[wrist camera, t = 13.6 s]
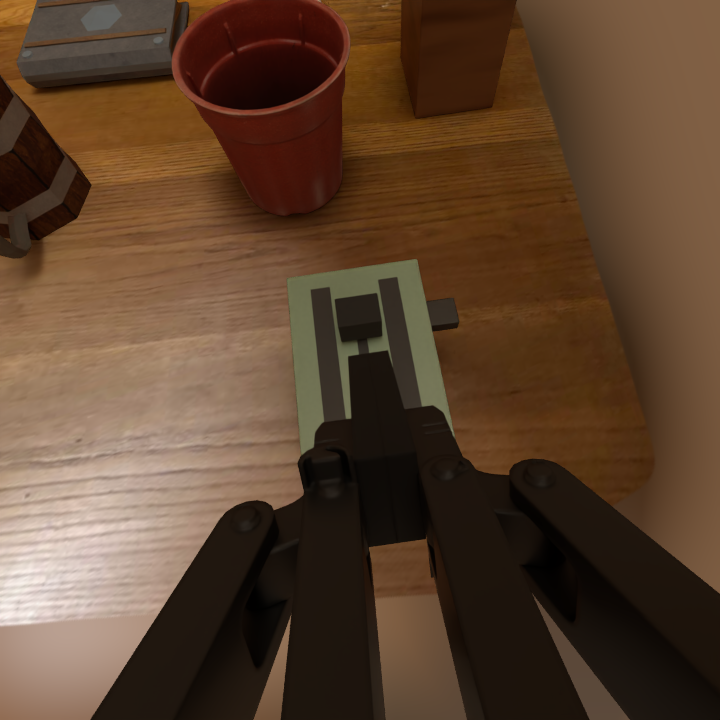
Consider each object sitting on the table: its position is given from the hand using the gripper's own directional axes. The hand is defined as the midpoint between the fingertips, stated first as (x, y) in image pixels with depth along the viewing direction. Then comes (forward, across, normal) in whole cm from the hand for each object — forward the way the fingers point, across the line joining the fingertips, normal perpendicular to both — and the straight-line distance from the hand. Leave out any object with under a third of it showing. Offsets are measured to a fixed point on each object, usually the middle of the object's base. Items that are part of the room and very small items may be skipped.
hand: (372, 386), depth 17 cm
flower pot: (+46, -6, +7) cm, 47 cm away
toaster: (+25, +1, -13) cm, 28 cm away
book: (+67, -30, +29) cm, 79 cm away
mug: (+46, -38, +8) cm, 60 cm away
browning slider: (+18, 0, -4) cm, 19 cm away
